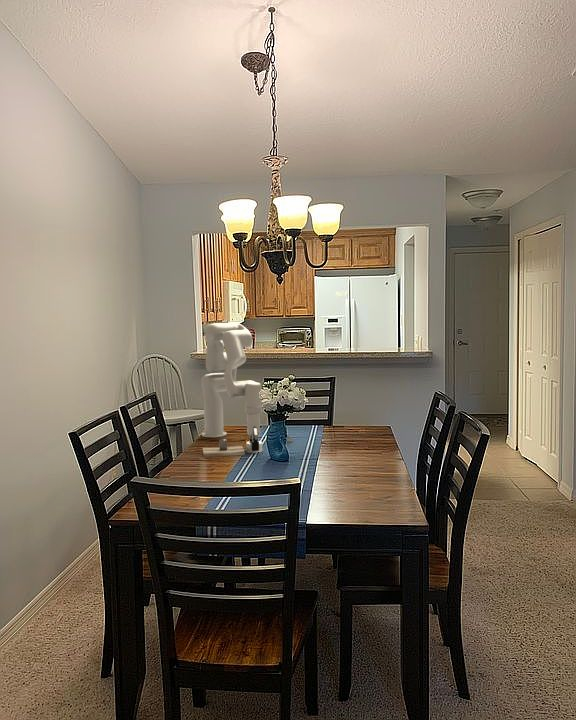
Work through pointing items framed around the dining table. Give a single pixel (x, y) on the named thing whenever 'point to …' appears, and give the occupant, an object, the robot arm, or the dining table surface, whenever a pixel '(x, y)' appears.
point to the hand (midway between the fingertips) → (254, 448)
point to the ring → (249, 447)
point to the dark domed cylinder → (223, 444)
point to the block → (217, 452)
